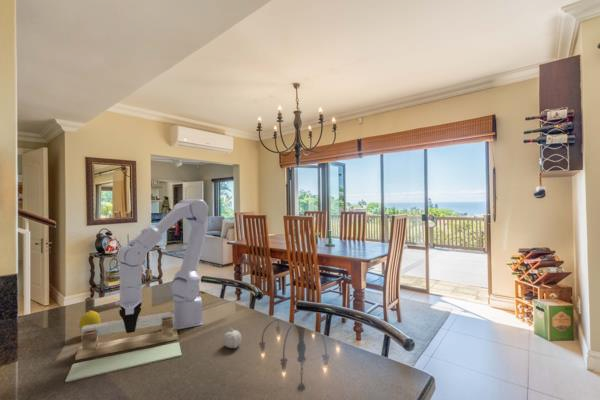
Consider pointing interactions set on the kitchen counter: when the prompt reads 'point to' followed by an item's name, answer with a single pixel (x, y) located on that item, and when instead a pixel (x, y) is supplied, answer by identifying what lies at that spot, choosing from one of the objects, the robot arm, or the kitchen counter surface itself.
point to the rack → (124, 341)
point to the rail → (119, 325)
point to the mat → (123, 361)
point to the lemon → (89, 319)
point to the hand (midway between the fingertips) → (130, 330)
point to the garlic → (232, 338)
